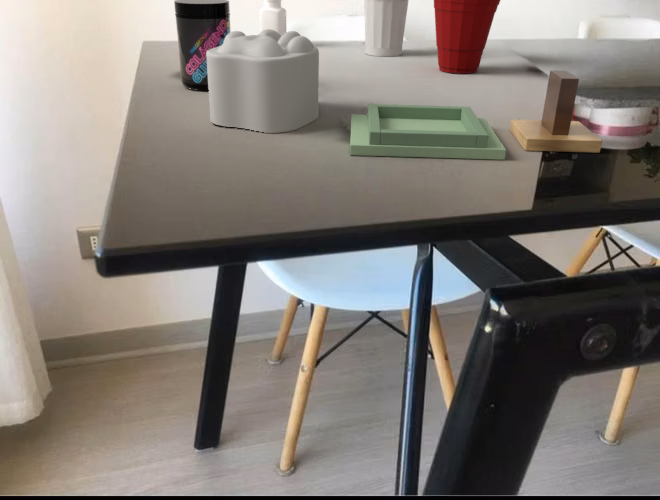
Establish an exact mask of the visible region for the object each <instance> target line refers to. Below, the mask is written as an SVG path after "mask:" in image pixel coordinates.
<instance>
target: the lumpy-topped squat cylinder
mask: <svg viewBox="0 0 660 500" xmlns="http://www.w3.org/2000/svg"><path fill="white" fill-rule="evenodd" d="M286 32H287V33H285V34H284V35H282V36H281V35H280V34H279V33H278V32H276V31H274V30H270V29H267V30H264V31H262V32H260V31H259V33H258V34H250V35H246V34H245V32H243V31H240V30H233V31H231V32H230V33H229V34H227V36H226V37H225V39H224V42H223V44H222V45H221V46H219V47H215V48H212V49H210V50H208V51H207V52H206V58H207V74H208V90H209V91H208V103H209V118H210V123H211V122H213V123H215V124H217V125H222V126H229V127H239V128H245V129H250V130H249V131H251V130H254V131H253V132H256V131H259V132H258V133H262V132H264V134H280V133H288V132H291V131H295V130H298V129H300V128H302V127H304V126H306V125H308V124H311V123H312V122H314V120H316V119H317V118H318V117H319V87H320V86H319V85H320V83H319V81H320V80H319V79H320V77H319V76H320V75H319V73H320V72H319V71H320V70H319V69H320V51H319V48H318V47H317V46H316V45H315V44H314V43H313V42H312V41H311V39H309V38H308V37H306V36H304V35H301V33H299V32H298V31H296V30H289V31H286ZM245 129H244V130H245Z"/></svg>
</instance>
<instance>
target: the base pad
mask: <svg viewBox="0 0 660 500" xmlns="http://www.w3.org/2000/svg"><path fill="white" fill-rule="evenodd" d="M349 143H350V144H349V155H350V156H365V157H397V158H426V159H427V158H429V159H431V158H433V159H463V160H465V159H466V160H493V161H494V160H498V161H499V160H500V161H504V160H506V155H507V149H506V147H505V145H504V144H503V143H502V141H501V140H500V139H499V137H498V136H497V134H496V132H495V131H494V130H493V128H492V127H491V126H490V124H489V123H488V122H487V120H486V118H484V117H477V115H476V114H475V112H474V111H473V110H472V107H471V106H459V105H455V106H452V105H421V104H420V105H419V104H385V103H380V104H379V103H368V105H367V114H351V121H350V142H349Z"/></svg>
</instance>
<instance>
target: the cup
mask: <svg viewBox="0 0 660 500" xmlns="http://www.w3.org/2000/svg"><path fill="white" fill-rule="evenodd" d="M363 3H364V4H363V5H364V7H363V8H364V9H363V10H364V39H365V40H364V41H365V45H364V47H365V49H364V53H365V54H366V55H368V56H373V57H398V56H402V54H403V45H404V44H403V43H404V37H405V29H406V21H407V16H408V15H407V14H408V7H409V0H363Z"/></svg>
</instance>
